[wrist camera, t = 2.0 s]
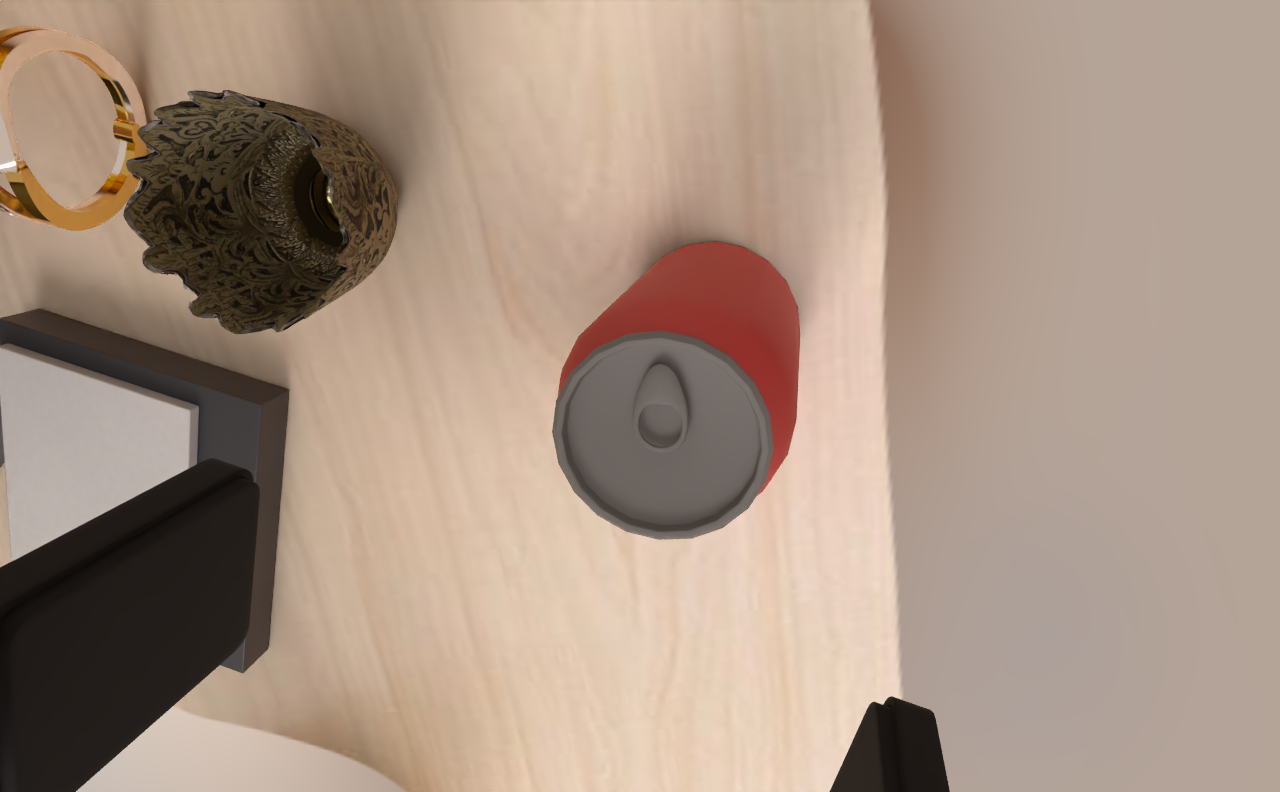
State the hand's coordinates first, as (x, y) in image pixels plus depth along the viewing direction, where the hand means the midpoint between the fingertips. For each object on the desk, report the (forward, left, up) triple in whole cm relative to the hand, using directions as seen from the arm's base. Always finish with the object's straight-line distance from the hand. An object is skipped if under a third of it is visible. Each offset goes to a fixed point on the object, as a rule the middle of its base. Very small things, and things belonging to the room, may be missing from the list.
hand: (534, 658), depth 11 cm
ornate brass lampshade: (-1, -15, -21) cm, 26 cm away
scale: (+16, -24, -21) cm, 35 cm away
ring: (-1, -25, -21) cm, 32 cm away
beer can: (0, 0, -21) cm, 21 cm away
